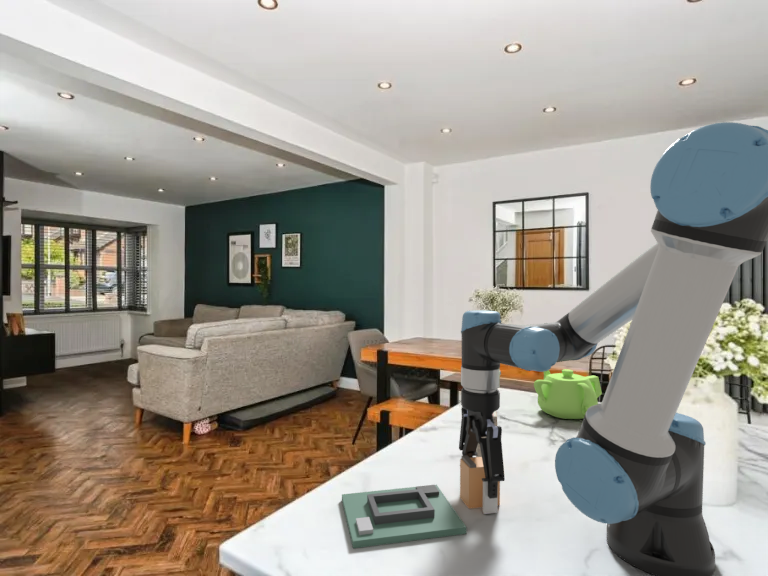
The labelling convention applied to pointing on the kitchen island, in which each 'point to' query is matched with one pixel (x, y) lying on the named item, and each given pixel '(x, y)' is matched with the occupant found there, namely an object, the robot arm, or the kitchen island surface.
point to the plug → (472, 481)
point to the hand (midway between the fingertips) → (479, 499)
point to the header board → (400, 516)
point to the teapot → (567, 394)
